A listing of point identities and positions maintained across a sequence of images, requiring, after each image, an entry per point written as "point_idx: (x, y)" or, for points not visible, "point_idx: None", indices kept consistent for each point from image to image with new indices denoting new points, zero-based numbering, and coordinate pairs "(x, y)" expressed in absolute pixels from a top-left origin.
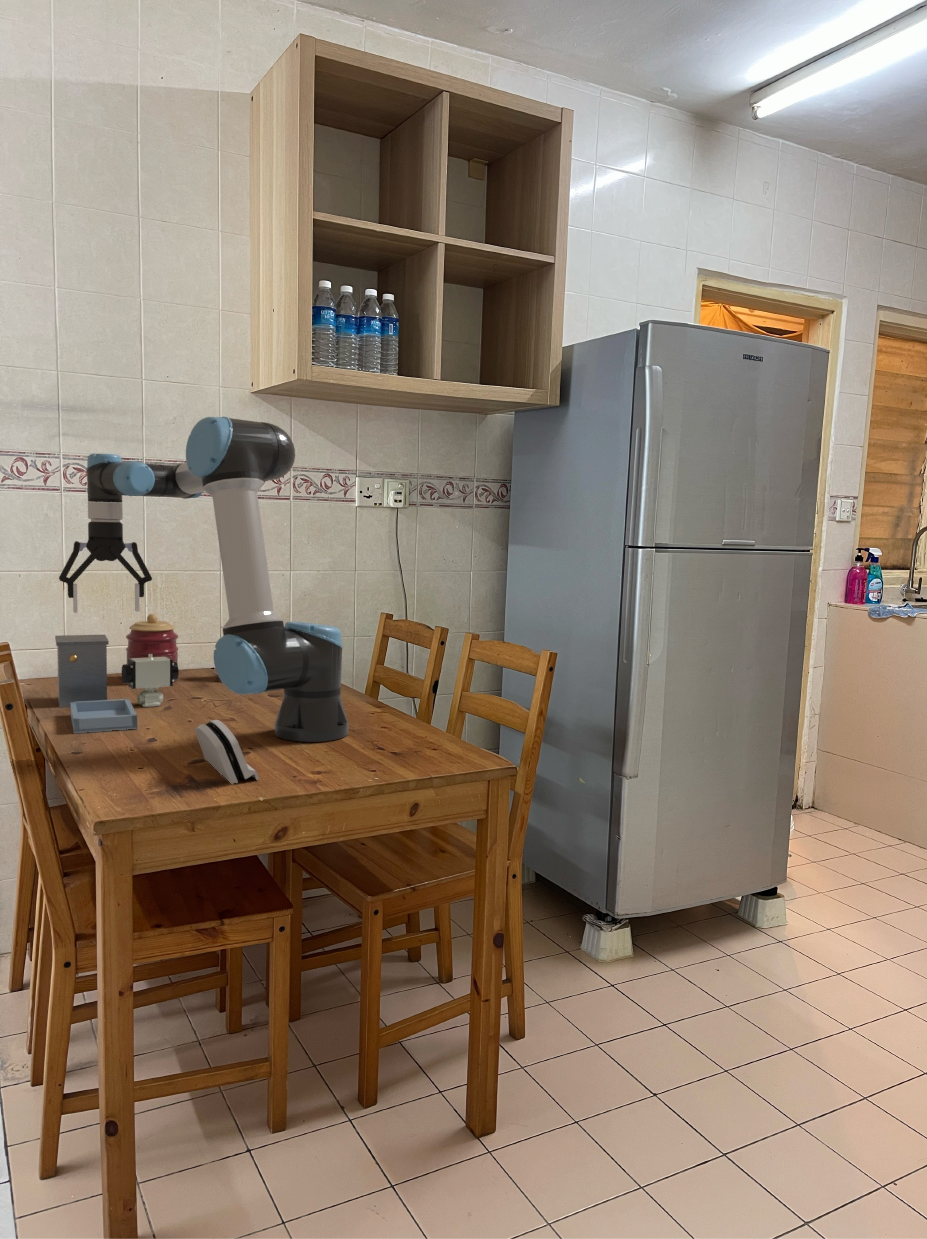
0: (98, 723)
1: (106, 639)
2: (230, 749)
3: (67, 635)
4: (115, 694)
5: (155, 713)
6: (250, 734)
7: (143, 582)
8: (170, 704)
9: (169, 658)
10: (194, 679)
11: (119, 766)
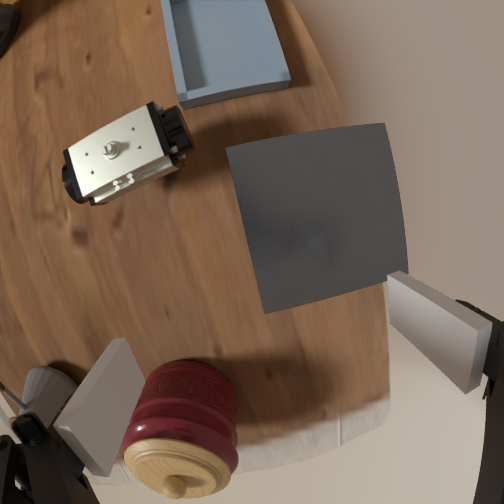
0: None
1: (239, 188)
2: None
3: (378, 280)
4: (234, 275)
5: (137, 100)
6: (38, 18)
7: (20, 417)
8: None
9: (69, 166)
10: None
11: None
